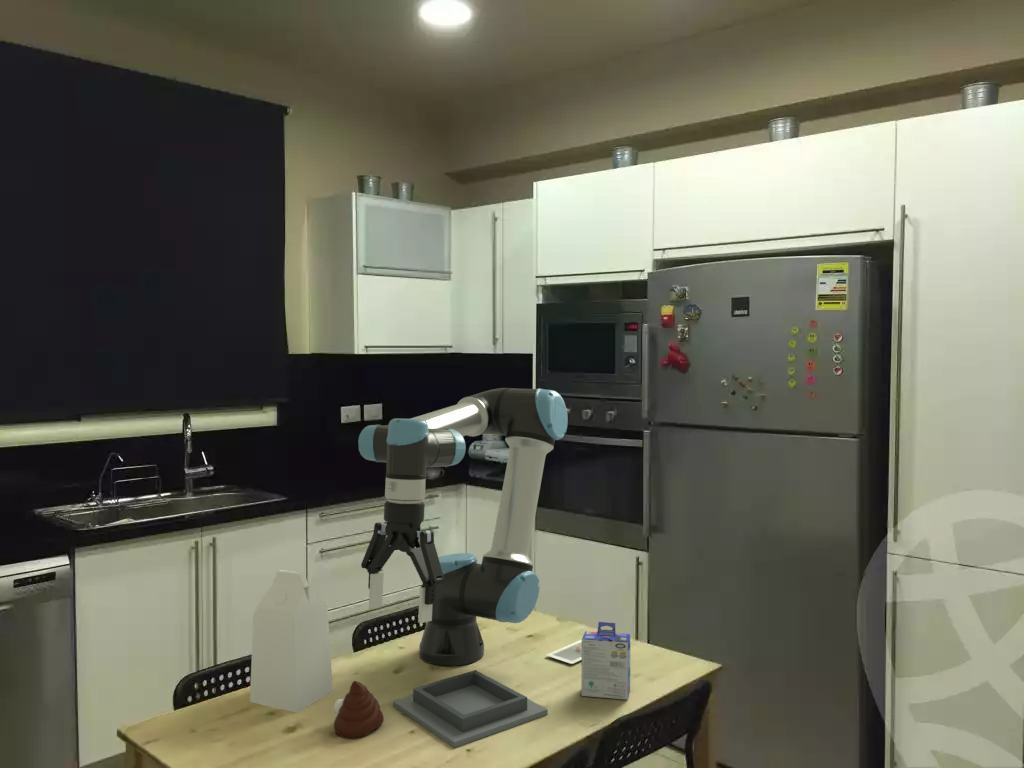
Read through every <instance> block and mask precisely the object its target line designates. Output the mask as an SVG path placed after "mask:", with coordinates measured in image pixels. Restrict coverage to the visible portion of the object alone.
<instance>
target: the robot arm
mask: <svg viewBox="0 0 1024 768" xmlns="http://www.w3.org/2000/svg"><path fill="white" fill-rule="evenodd" d="M567 410H568V409H567V406H566V402H565V400H564V399H563V397H562V396H561V394H560V393H558V392H557V391H556V390H552V389H544V388H512V387H511V388H510V387H501V388H495V389H494V388H493V389H489V390H485V391H482V392H479V393H476V394H473V395H469V396H465V397H463V398H461V399H460V400H459V401H458V402H457V404H454V405H450V406H447V407H444V408H441V409H438V410H437V409H436V410H433V411H432V412H427V413H425V414H422V415H418V416H414V417H411V418H392V419H391V420H390V421H389V423H388V424H387V425H386V424H385V425H381V424H374V425H373V424H371V425H367V426H365V427H364V428H363V429H362V430H361V432H360V433H359V436H358V441H357V442H358V451H359V453H360V456H362V458H364V459H365V460H367V461H372V462H376V463H386V473H385V486H384V487H385V489H384V498H385V499H387V500H386V501H385V502H384V504H383V505H384V508H383V520H384V521H381V522H375V523H374V524H373V525H374V526H373V534H372V536H371V539H370V541H369V544H368V547H367V548H366V551H365V554H364V556H363V558H362V561H361V568H362V569H365V570H366V571H367V573H368V582H367V583H368V586H367V587H368V590H369V595H368V597H369V598H368V609H370V610H374V609H377V608H382V607H383V598H384V596H383V594H384V574H385V573H384V572H383V571H384V570H383V568H384V567H385V565H386V564H387V562H388V560H389V559H390V558H391V556H392V555H393V553H395V551H400V552H403V553H406V555H407V556H408V557H410V560H411V561H412V564H413V566H414V567H415V570H416V572H417V575H418V576H419V578H420V581H421V583H422V584H421V586H419V599H418V619H417V620H418V621H417V623H418V624H423V623H426V624H425V627H424V629H423V634H422V637H421V640H420V643H419V646H418V647H419V648H418V649H419V651H418V652H419V657H420V659H421V660H422V661H424V662H425V663H428V664H431V665H435V666H443V667H444V666H447V667H450V666H451V667H452V666H453V667H454V666H463V665H464V666H465V665H469V664H471V663H475V662H477V661H479V660H480V659H482V658H483V657H484V655H485V644H484V640H483V637H482V634H481V631H480V628H479V624H478V620H477V618H483V619H488V620H493V621H497V622H499V623H509V624H510V623H511V624H520V623H522V622H523V621H525V620H526V619H527V618H528V617H529V616H530V615H531V614H532V613H533V610H534V609H535V607H536V604H537V602H538V599H539V595H540V594H539V593H540V584H539V583H540V580H539V576H538V575H537V574H536V573H535V572H534V571H533V569H534V564H533V562H532V560H531V559H530V557H529V553H530V545H531V541H532V535H533V530H534V525H535V518H536V513H537V507H538V501H539V496H540V490H541V485H542V484H541V483H542V479H543V473H544V469H545V468H544V467H545V463H546V462H545V461H546V457H547V454H549V453H550V452H551V451H553V450H554V446H555V441H558V440H561V439H563V438H564V437H565V434H566V433H567V429H568V421H569V420H568V411H567ZM480 435H490V436H491V435H494V436H495V435H496V436H503V437H504V436H505V439H504V440H505V442H506V444H507V446H508V447H509V451H508V458H507V461H506V469H505V474H504V479H503V485H502V488H501V489H502V490H501V495H500V501H499V506H498V511H497V516H496V522H495V526H494V533H493V537H492V542H491V548H490V550H489V551H487V552H486V553H485V554H483V556H482V559H481V560H482V561H481V563H477V562H478V559H477V556H476V555H475V554H474V553H470V552H469V553H466V552H465V553H464V552H461V553H451V554H444V555H441V556H439V555H438V552H437V548H436V545H435V535H434V534H435V533H434V531H433V530H431V529H429V530H422V528H421V527H422V526H421V524H422V523H423V522H424V520H425V507H426V506H425V503H424V502H423V500H424V501H425V499H426V480H427V474H426V473H427V468H441V467H442V468H443V467H444V468H448V467H450V466H455V465H458V464H459V463H460V462H461V461H462V460H463V459H464V457H465V454H466V449H467V448H466V441H465V438H464V437H465V436H468V437H477V436H480Z"/></svg>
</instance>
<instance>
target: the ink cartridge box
mask: <svg viewBox="0 0 1024 768" xmlns="http://www.w3.org/2000/svg"><path fill="white" fill-rule="evenodd" d="M597 623H598V626H597V631H584V633H583V636H582V638H581V639H582V660H581V691H580V692H581V694H580V696H582V697H588V698H589V697H590V698H591V697H592V698H601V699H602V698H603V699H604V698H605V699H614V700H615V699H616V700H629V696H630V693H631V634H630V633H621V632H616V623H615V622H604V621H598V622H597ZM602 627H610V628H612V629H602Z"/></svg>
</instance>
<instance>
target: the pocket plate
mask: <svg viewBox="0 0 1024 768" xmlns="http://www.w3.org/2000/svg"><path fill="white" fill-rule="evenodd" d="M392 707H394V708H395V709H396V710H399V711H400V712H401V713H403V714H404V715H406V717H407V716H408V717H409V718H410V719H412V720H413V721H414V722H416V723H418V724H419V725H421V726H422V727H423V728H425V729H426V730H427V731H428V732H429V731H430V732H431V733H432V734H434V735H435V736H437V737H438V738H439V739H441V740H443V741H444V742H446V743H447V744H449V745H450V746H451V747H453V748H458V747H461V746H463V745H464V746H465V745H467V744H469V743H472V742H475V741H478V740H481V739H483V738H485V737H488V736H491V735H494V734H497V733H499V732H503V731H505V730H508V729H511V728H513V727H516V726H519V725H522V724H525V723H528V722H530V721H533V720H535V719H539V718H542V717H544V716H547V715H548V714H549V710H548V708H546V707H544V706H542V705H540V704H538V703H537V702H534V701H533V700H531V699H529V698H528V696H526V695H524V694H522V693H520V692H518V691H516V690H514V689H512V688H510V686H507V685H505V684H503V683H501V682H499V681H497V680H495V679H494V678H491V677H489V676H487V675H486V674H484V673H482V672H480V671H479V670H477V669H474V670H471V671H468V672H464V673H461V674H458V675H457V674H456V675H454V676H451V677H447V678H444V679H440V680H436V681H434V682H430V683H427V684H424V685H420V686H417V687H414V688H413V689H412V695H409V696H406V697H401V698H398V699H395V700H393V701H392Z"/></svg>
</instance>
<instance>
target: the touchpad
mask: <svg viewBox="0 0 1024 768" xmlns="http://www.w3.org/2000/svg"><path fill="white" fill-rule="evenodd" d="M545 656H546V657H549V658H553V659H555V660H558V661H562V662H565V663H568V664H571V665H573V664H575V663H577V662H580V661H582V638H581V639H579V640H577V641H574V642H573V643H570V644H568V645H566V646H563V647H561V648H558V649H556V650H554V651H552V652H549V653H547V654H545Z"/></svg>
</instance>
